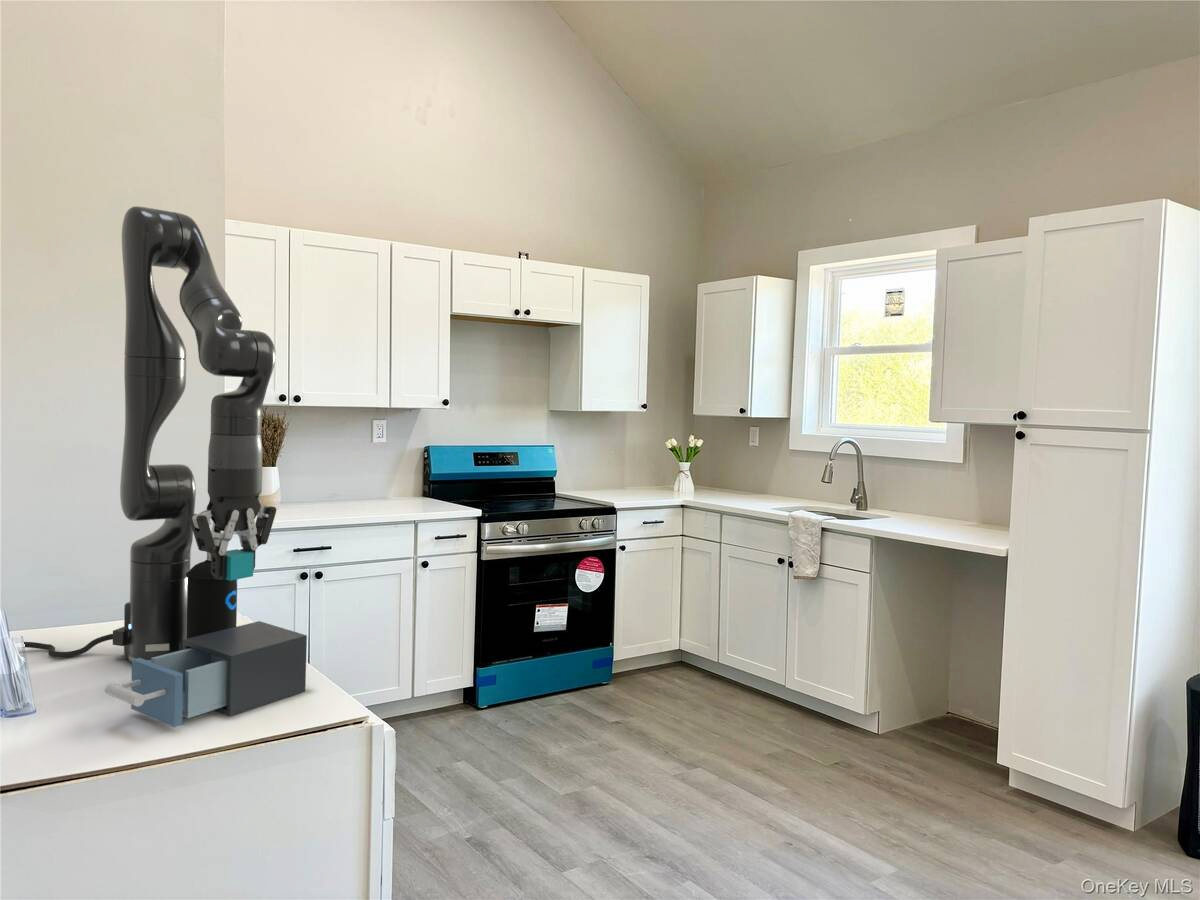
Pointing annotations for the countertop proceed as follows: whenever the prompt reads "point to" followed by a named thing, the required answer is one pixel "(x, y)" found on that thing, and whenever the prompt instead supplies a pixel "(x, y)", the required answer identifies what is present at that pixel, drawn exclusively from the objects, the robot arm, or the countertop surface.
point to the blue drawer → (175, 685)
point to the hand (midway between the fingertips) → (233, 575)
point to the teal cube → (239, 564)
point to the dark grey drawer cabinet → (256, 663)
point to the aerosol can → (209, 601)
